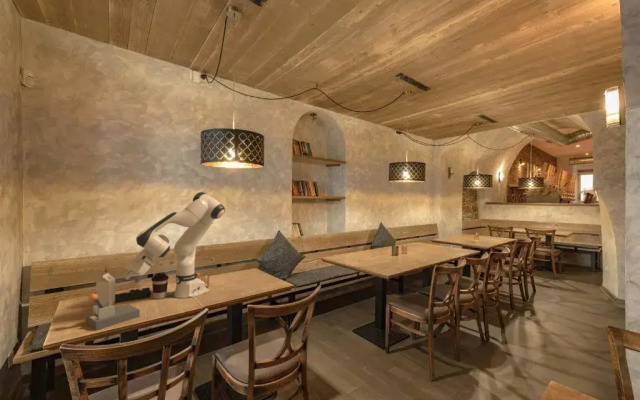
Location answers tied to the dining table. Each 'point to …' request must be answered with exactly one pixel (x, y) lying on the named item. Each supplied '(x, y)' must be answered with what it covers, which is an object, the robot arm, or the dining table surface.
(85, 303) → the dining table surface
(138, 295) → the dark slate chunk
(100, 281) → the milk carton
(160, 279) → the coffee cup
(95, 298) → the toggle lever
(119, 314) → the switch box
